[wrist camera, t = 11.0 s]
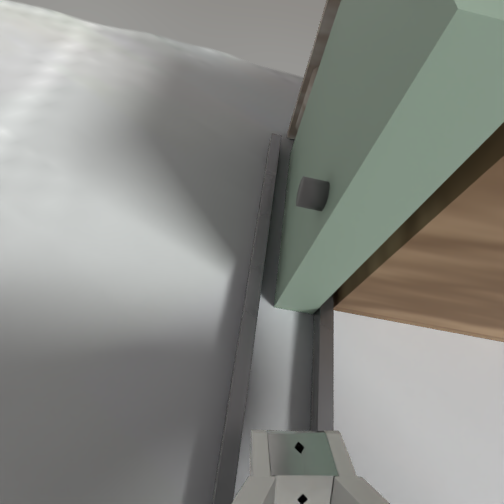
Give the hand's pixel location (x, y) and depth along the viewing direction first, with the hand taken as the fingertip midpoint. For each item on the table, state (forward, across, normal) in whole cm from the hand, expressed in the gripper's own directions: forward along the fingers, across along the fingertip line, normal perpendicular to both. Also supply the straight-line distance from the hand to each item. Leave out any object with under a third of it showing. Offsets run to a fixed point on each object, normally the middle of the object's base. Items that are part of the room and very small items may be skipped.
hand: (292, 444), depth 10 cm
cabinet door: (+14, +2, +5) cm, 15 cm away
